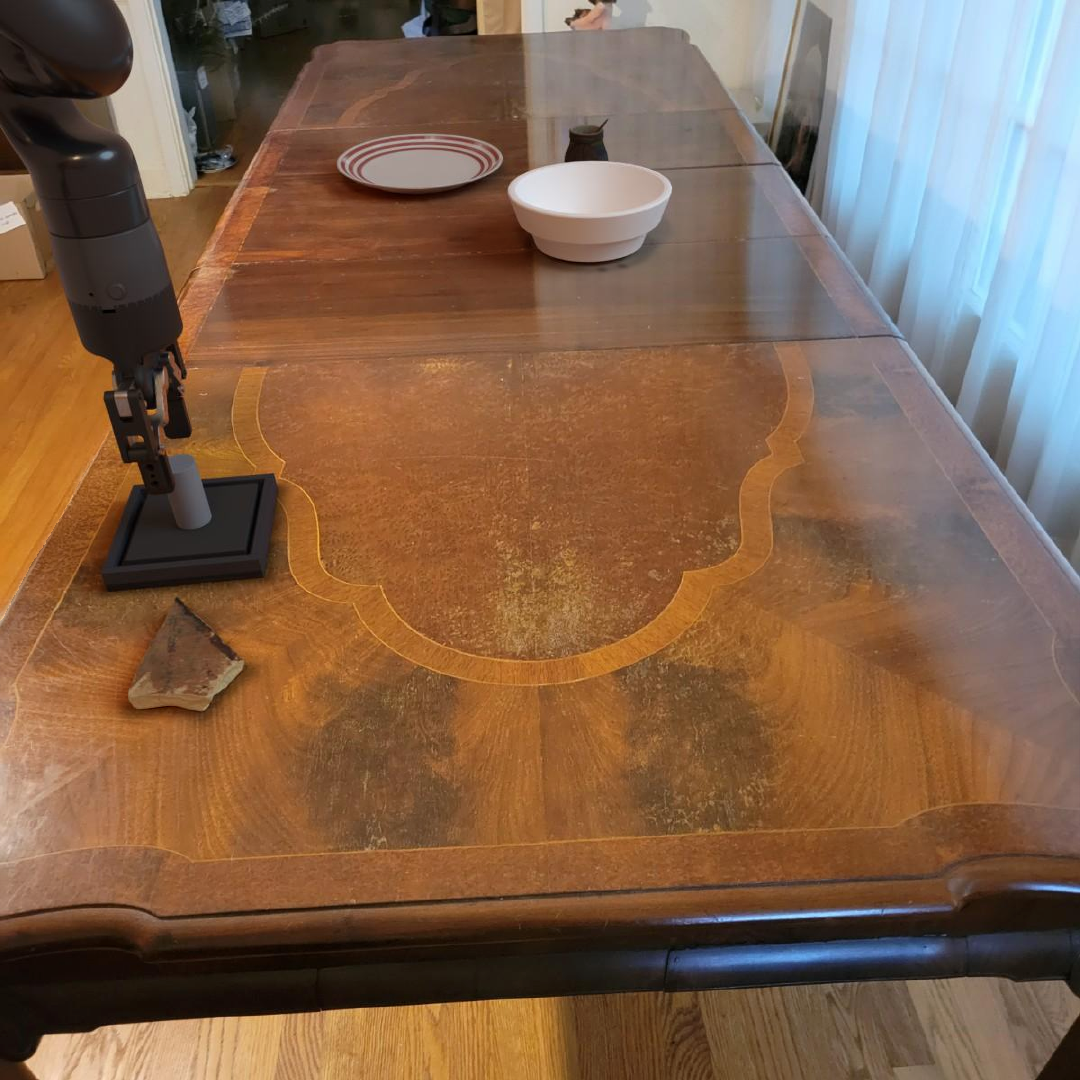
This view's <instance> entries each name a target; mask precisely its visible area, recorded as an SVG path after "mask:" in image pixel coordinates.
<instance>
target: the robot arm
mask: <svg viewBox="0 0 1080 1080" xmlns="http://www.w3.org/2000/svg"><path fill="white" fill-rule="evenodd" d="M133 64H134V44H133V38H132V35H131V32H130V29H129V26H128V22H127V21H126V18H125V17H124V15H123V13H122V10H121V9H120V7H119V6H118V4H117V3H116V1H115V0H0V128H1V130H2V132H3V134H4V135H5V137H6V139H7V141H8V142H9V143H10V146H11V147H12V149H13V150H14V151H15V152H16V154H17V155H18V157H19V158H20V160H21V162H22V163H23V165H24V166H25V167H26V169H27V171H28V173H29V176H30V179H31V183H32V187H33V189H34V192H35V196H36V198H37V201H38V204H39V207H40V210H41V213H42V216H43V218H44V222H45V226H46V228H47V232H48V236H49V240H50V244H51V250H52V257H53V261H54V264H55V268H56V271H57V274H58V277H59V280H60V283H61V286H62V289H63V292H64V295H65V298H66V301H67V305H68V307H69V310H70V313H71V316H72V319H73V321H74V325H75V327H76V331H77V334H78V337H79V339H80V343H81V345H82V347H83V348H84V350H86V351H87V352H88V353H90V354H91V355H93V356H96V357H100V358H102V359H103V358H104V359H106V360H108V362H110V363H112V365H113V369H112V370H111V383H112V388H113V390H105V391H104V392H103V397H102V399H103V403H104V405H105V408H106V412H107V415H108V418H109V421H110V425H111V428H112V432H113V434H114V437H115V441H116V445H117V447H118V451H119V454H120V458H121V461H122V462H123V464H124V465H125V464H126V465H127V464H132V463H136V464H137V467H138V469H139V473H140V476H141V480H142V482H143V484H144V485H145V488H146V491H147V492H148V493H149V494H151V495H158V494H170V493H172V492H173V491H174V489H175V485H176V484H175V480H174V477H173V473H172V470H171V467H170V463H169V460H168V457H169V456H168V454H167V450H166V445H165V437H166V438H167V439H168V440H179V439H189V438H190V437H191V436H192V432H193V427H192V423H191V419H190V416H189V412H188V408H187V405H186V401H185V398H184V397H185V395H186V387H185V385H184V382H183V380H186V379H187V375H188V371H187V369H186V366H185V362H184V359H183V355H182V351H181V348H180V345H179V342H178V339H179V338H180V337H181V336H182V333H183V330H184V323H183V319H182V315H181V312H180V307H179V304H178V300H177V296H176V292H175V287H174V285H173V284H174V283H173V280H172V276H171V273H170V269H169V266H168V262H167V258H166V254H165V250H164V246H163V243H162V241H161V238H160V236H159V233H158V231H157V228H156V226H155V223H154V221H153V217H152V214H151V210H150V207H149V203H148V199H147V196H146V192H145V188H144V185H143V180H142V177H141V173H140V169H139V166H138V162H137V159H136V156H135V154H134V150H133V149H132V146H131V145H130V143H129V142H128V140H127V139H125V137H123V136H122V135H120V134H119V133H118V132H115V131H113V130H110V129H108V128H106V127H103V126H101V125H99V124H96V123H94V122H92V121H91V120H89V119H88V118H87V117H86V116H85V115H84V114H83V113H82V111H81V110H80V108H79V106H78V105H77V103H76V102H75V100H80V101H81V100H83V101H91V100H98V99H103V98H107V97H110V96H112V95H114V94H116V92H118V91H119V90H120V89H121V88H123V86H124V85H125V83H126V82H127V81H128V79H129V78H130V76H131V73H132V69H133ZM153 410H154V411H155V412H154V413H153V414H148V411H153ZM139 437H140V438H142V440H143V441H142V440H141V441H139Z"/></svg>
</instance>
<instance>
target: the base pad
mask: <svg viewBox="0 0 1080 1080" xmlns="http://www.w3.org/2000/svg"><path fill="white" fill-rule="evenodd" d="M201 481H202V485H203V488H208V487H219V486H231V485H243V484H254V483H258V486H259V490H260V497H259V502H258V507H257V513H256V518H255V523H254V528H253V533H252V539H251V544H250V549H249V554H248V555H239V556H228V557H217V558H206V559H195V560H184V561H174V562H163V563H152V564H141V565H130V566H127V565H126V563H125V558H126V555H127V553H128V550H129V547H130V544H131V541H132V538H133V535H134V532H135V529H136V527H137V524H138V521H139V518H140V515H141V512H142V509H143V506H144V504H145V501H146V498H147V495H148V492H147V491H146V488H145V485H144V483H141V484H133V485H132V487H131V490H130V493H129V496H128V498H127V501H126V504H125V506H124V509H123V511H122V514H121V517H120V520H119V522H118V525H117V528H116V531H115V533H114V536H113V539H112V541H111V544H110V547H109V549H108V553H107V555H106V556H105V557H106V558H105V560H104V563H103V566H102V568H101V572H100V576H101V578H102V582H103V583H104V586H105V588H106V591H107V592H119V591H127V590H138V589H148V588H149V589H151V588H160V587H161V588H163V587H173V586H182V585H191V584H203V583H214V582H215V583H216V582H225V581H236V580H246V579H248V580H249V579H257V578H264V576H265V571H266V565H267V559H268V553H269V547H270V541H271V535H272V529H273V525H274V524H273V523H274V518H275V511H276V507H277V506H276V505H277V499H278V493H279V487H278V483H277V479H276V475H275V473H274V472H270V473H269V472H268V473H257V474H248V475H247V474H246V475H235V476H233V475H232V476H224V477H211V478H210V477H209V478H201Z"/></svg>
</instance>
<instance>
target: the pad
mask: <svg viewBox="0 0 1080 1080" xmlns="http://www.w3.org/2000/svg"><path fill="white" fill-rule="evenodd" d="M167 457H168V460H169V463H170V467H171V470H172V473H173V477H174V480H175V484H176V485H175V489H174V491H173V492H172V493H170V494H158V495H151V494H149V493H148V495H147V498H146V501H145V504H144V506H143V509H142V512H141V515H140V518H139V521H138V524H137V527H136V529H135V532H134V535H133V538H132V541H131V544H130V547H129V550H128V553H127V555H126V558H125V563H126V565H127V566H130V565H141V564H152V563H163V562H174V561H184V560H195V559H206V558H217V557H228V556H239V555H248V554H249V549H250V544H251V539H252V533H253V528H254V523H255V518H256V513H257V507H258V502H259V497H260V490H259V486H258V483H254V484H243V485H231V486H219V487H208V488H203V485H202V481H201V479H202V478H201V474H200V472H199V467H198V465H197V461H196V458H195V457H194V456H193V455H191V454H188V453H178V454H172V455H170V456H167Z"/></svg>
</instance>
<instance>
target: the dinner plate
mask: <svg viewBox="0 0 1080 1080" xmlns="http://www.w3.org/2000/svg"><path fill="white" fill-rule="evenodd" d="M503 161H504V157H503V153H502V152H501V151H500V150H499V149H498V148H497V147H496V146H494V145H493V144H491V143H489V142H486V141H484V140H482V139H478V138H473V137H469V136H463V135H457V134H445V133H410V134H409V133H408V134H398V135H391V136H383V137H378V138H375V139H370V140H368V141H365V142H364V141H363V142H361V143H359V144H356V145H354V146H352V147H350V148H348V149H346V150H345V151H344V152H343V153H342V154H340V156H339V157H338V158H337V161H336V167H337V169H338V171H339V172H340V173H341V174H342V175H344V176H345V177H346V178H347V179H349V180H352V181H353V182H356V183H358V184H360V185H362V186H366V187H370V188H374V189H377V190H381V191H384V192H387V193H394V194H402V195H403V194H404V195H425V194H426V195H427V194H437V193H442V192H447V191H451V190H455V189H458V188H461V187H463V186H466V185H467V184H471V183H473V182H476V181H478V180H480V179H483V178H485V177H487V176H488V175H490V174H493V173H494V172H495V171H497V170H498V169H499V168H500V167H501V166H502V164H503Z"/></svg>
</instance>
